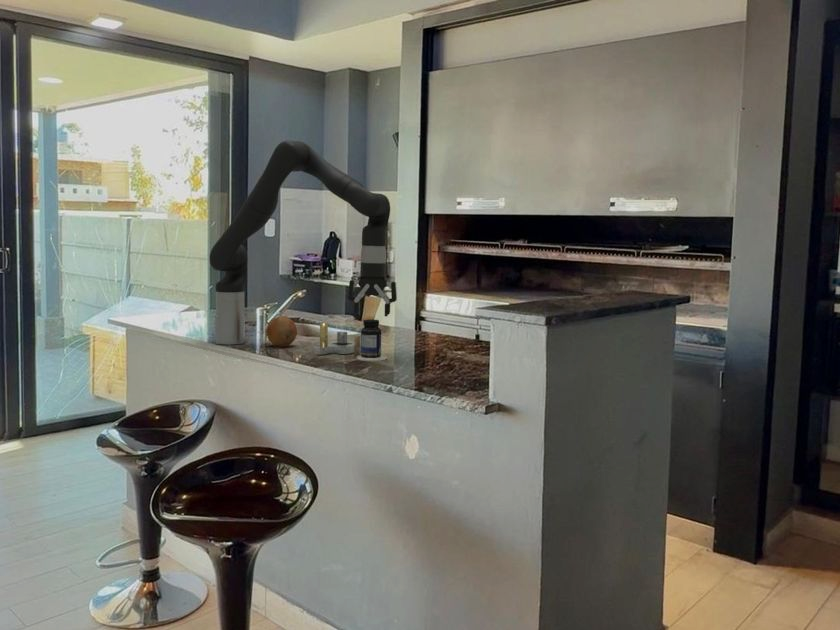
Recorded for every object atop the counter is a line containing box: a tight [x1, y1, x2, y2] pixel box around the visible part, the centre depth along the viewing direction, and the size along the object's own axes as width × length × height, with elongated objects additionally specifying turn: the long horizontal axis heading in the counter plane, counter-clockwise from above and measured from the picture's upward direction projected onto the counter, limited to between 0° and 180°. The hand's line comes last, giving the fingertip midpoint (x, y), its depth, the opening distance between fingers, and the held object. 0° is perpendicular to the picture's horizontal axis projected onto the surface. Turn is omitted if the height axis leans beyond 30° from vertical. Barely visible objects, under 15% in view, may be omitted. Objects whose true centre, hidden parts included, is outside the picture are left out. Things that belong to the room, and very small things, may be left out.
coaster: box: [356, 354, 388, 362], centre depth 231 cm, size 9×9×1 cm
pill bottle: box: [360, 318, 382, 358], centre depth 230 cm, size 6×6×11 cm
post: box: [336, 331, 348, 345], centre depth 244 cm, size 3×3×6 cm
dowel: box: [353, 335, 361, 357], centre depth 235 cm, size 2×2×6 cm
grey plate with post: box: [313, 322, 361, 356], centre depth 242 cm, size 18×12×9 cm
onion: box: [266, 315, 298, 348], centre depth 251 cm, size 10×10×10 cm
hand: (372, 315), depth 230 cm, fingers open, 8 cm apart
